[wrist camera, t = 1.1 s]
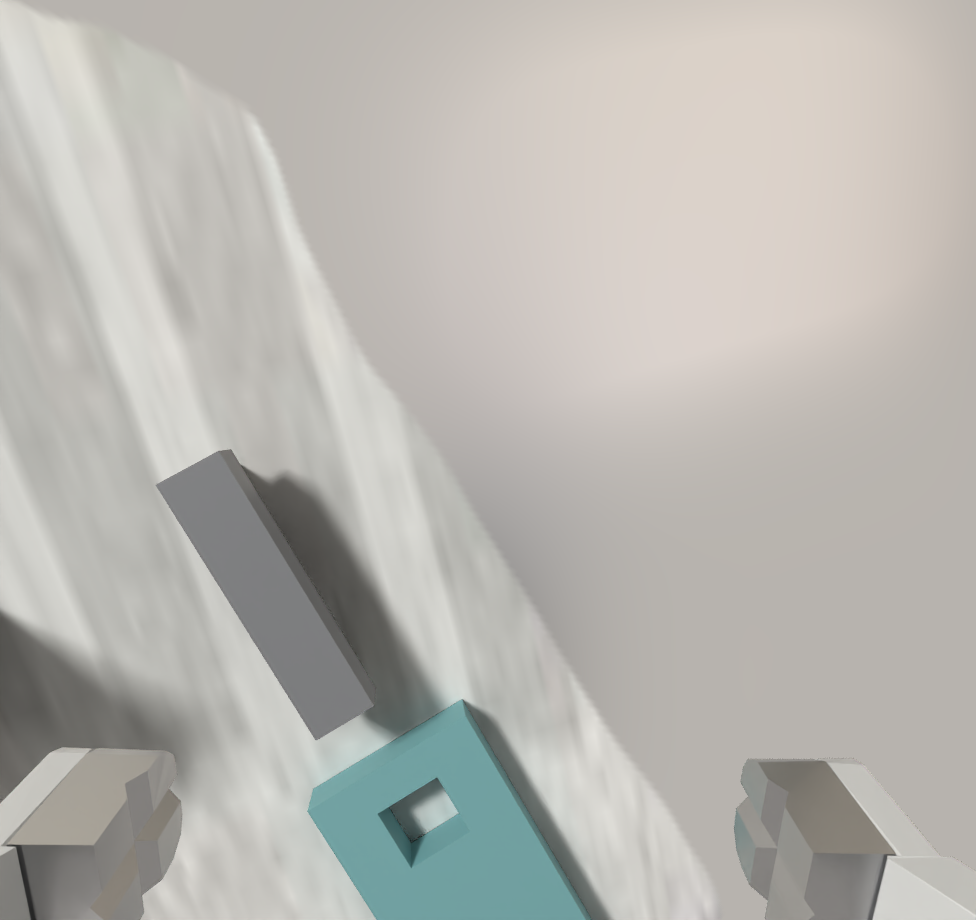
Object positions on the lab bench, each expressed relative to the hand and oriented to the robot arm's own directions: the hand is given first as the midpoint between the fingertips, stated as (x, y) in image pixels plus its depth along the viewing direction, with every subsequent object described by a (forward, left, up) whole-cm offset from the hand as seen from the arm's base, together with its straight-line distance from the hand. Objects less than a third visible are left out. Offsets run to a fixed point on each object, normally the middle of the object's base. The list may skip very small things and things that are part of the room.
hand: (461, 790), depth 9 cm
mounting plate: (-27, -8, -34) cm, 44 cm away
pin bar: (-6, +8, -34) cm, 35 cm away
